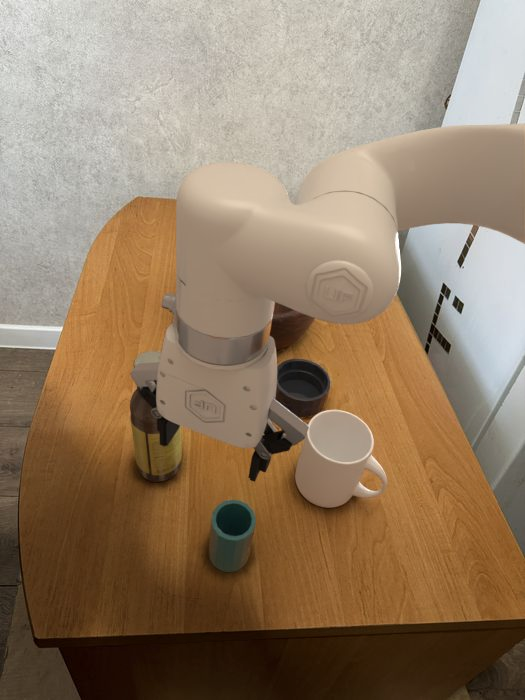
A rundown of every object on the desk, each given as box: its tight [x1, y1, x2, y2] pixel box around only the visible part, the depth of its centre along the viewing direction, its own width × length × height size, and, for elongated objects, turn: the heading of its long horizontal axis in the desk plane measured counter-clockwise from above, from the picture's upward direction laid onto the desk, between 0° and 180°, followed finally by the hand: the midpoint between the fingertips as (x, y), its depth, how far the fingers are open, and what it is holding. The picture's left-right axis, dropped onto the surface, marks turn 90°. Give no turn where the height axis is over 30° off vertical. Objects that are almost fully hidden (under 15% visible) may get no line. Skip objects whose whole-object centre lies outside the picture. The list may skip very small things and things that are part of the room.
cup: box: [208, 499, 257, 573], centre depth 63 cm, size 5×5×8 cm
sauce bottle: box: [129, 350, 183, 483], centre depth 67 cm, size 6×6×20 cm
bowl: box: [275, 358, 332, 419], centre depth 84 cm, size 9×9×4 cm
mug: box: [294, 409, 388, 508], centre depth 70 cm, size 9×12×11 cm
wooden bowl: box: [270, 302, 316, 351], centre depth 95 cm, size 25×25×10 cm
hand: (212, 452), depth 54 cm, fingers open, 9 cm apart
